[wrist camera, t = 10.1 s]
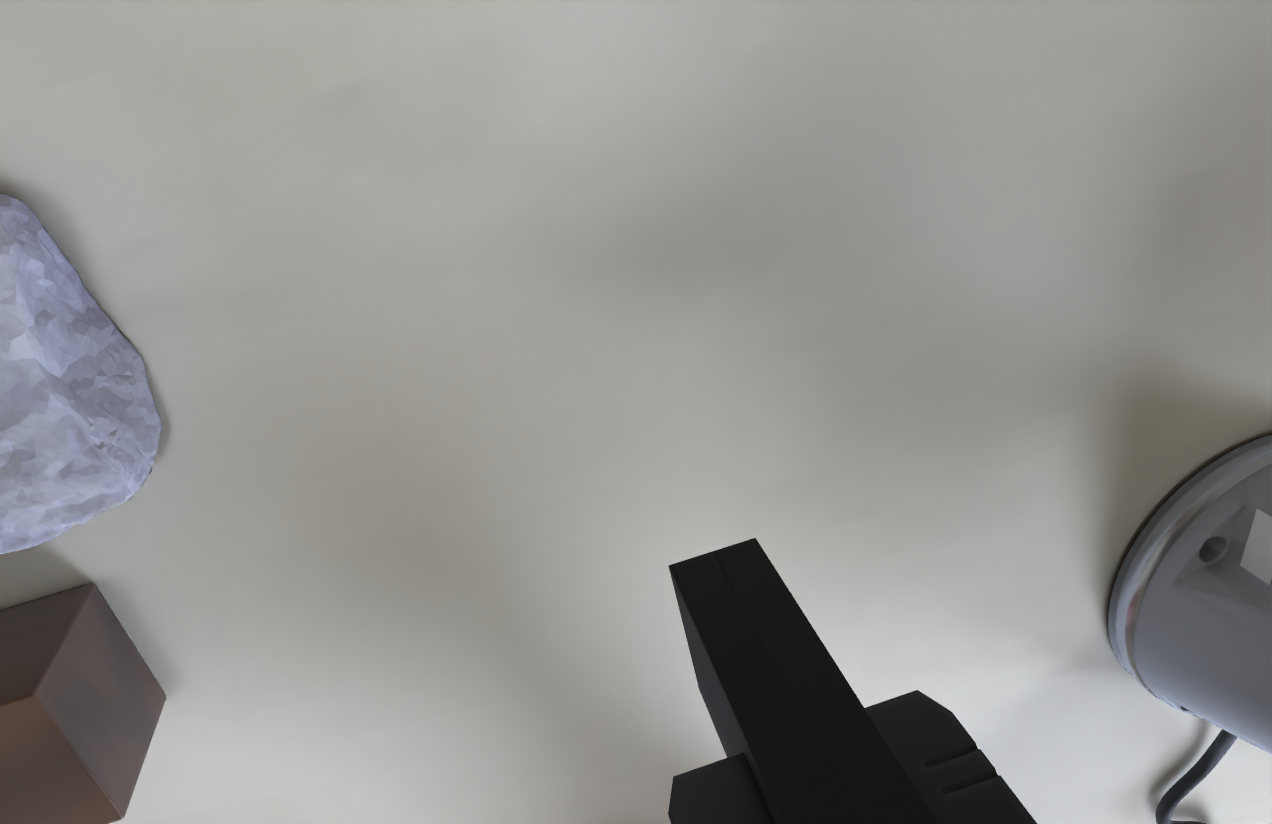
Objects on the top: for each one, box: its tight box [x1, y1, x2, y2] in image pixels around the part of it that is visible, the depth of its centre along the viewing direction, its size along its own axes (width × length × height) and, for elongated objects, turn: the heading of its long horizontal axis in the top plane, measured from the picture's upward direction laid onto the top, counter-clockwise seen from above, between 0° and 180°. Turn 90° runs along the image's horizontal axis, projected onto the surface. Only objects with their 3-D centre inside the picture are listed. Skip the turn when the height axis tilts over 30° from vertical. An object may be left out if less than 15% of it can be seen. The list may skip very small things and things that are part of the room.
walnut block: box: [0, 583, 166, 824], centre depth 28 cm, size 6×6×6 cm
